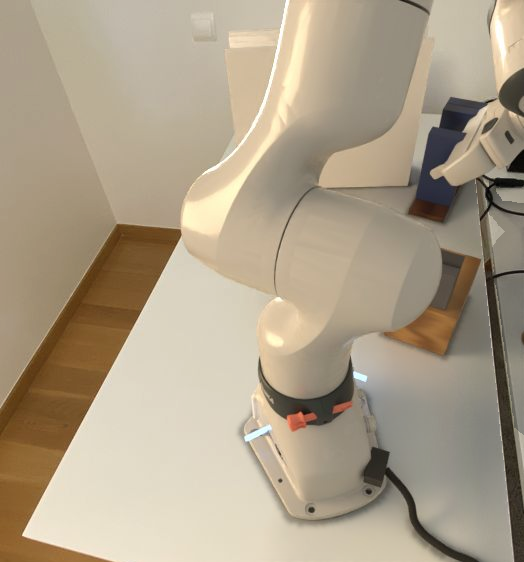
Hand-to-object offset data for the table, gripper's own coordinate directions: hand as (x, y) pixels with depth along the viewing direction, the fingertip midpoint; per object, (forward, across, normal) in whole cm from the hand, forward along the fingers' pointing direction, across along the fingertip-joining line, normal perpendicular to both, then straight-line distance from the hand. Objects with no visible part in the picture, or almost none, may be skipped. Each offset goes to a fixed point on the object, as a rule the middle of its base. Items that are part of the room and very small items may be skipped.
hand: (439, 162), depth 93 cm
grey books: (-6, +33, +6) cm, 34 cm away
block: (+23, 0, -10) cm, 25 cm away
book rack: (+6, -4, +7) cm, 10 cm away
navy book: (+5, 0, +6) cm, 8 cm away
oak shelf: (+1, +29, +13) cm, 31 cm away
